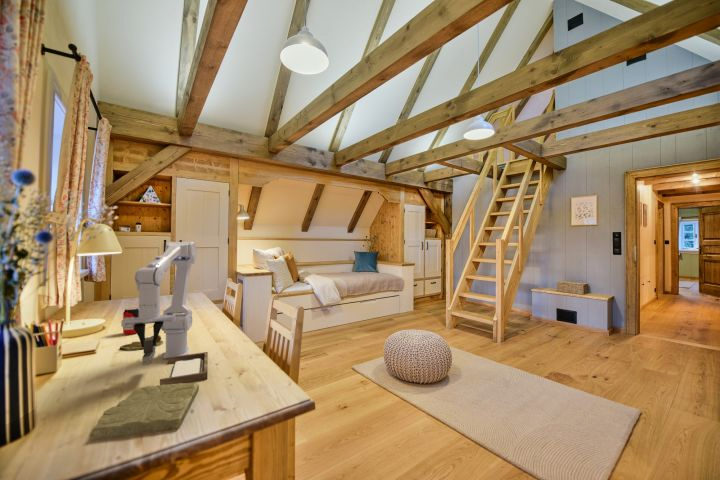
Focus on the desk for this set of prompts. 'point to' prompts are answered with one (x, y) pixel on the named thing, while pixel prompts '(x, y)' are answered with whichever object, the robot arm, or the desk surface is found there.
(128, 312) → the beverage can
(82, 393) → the desk surface
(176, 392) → the decorative tile
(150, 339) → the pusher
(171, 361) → the walnut bay
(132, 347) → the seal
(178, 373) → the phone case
